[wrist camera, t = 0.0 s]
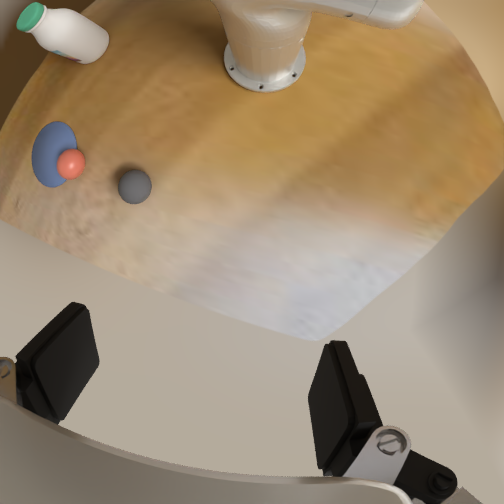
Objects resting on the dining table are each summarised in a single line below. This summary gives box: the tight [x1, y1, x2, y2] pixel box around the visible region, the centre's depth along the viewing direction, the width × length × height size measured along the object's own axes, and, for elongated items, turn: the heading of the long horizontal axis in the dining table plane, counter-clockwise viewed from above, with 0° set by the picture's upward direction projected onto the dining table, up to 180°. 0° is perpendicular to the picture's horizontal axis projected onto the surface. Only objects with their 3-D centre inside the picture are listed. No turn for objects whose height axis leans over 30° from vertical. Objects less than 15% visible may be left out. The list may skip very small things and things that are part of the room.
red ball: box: [57, 149, 85, 180], centre depth 41 cm, size 6×6×6 cm
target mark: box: [32, 122, 77, 187], centre depth 42 cm, size 13×13×1 cm
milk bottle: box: [17, 2, 109, 64], centre depth 26 cm, size 8×8×20 cm
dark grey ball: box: [118, 170, 152, 204], centre depth 42 cm, size 6×6×6 cm
